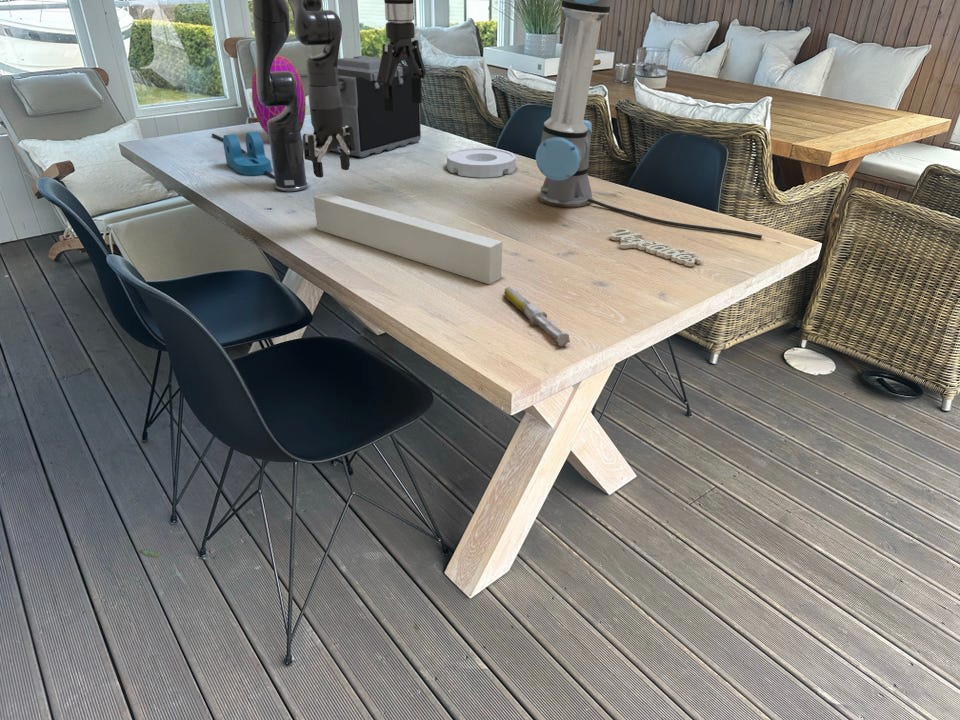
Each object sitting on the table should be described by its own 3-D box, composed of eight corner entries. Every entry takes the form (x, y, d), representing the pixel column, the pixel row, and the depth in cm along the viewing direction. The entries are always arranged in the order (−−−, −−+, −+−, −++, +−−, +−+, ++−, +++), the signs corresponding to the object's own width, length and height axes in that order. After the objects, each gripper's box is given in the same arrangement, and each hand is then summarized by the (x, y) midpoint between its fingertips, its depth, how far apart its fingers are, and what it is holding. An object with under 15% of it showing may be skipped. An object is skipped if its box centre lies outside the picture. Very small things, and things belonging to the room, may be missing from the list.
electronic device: (383, 133, 276) (378, 52, 261) (425, 141, 265) (422, 56, 250) (314, 150, 251) (304, 61, 235) (358, 160, 240) (350, 67, 224)
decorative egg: (293, 132, 276) (283, 50, 261) (319, 140, 264) (310, 56, 249) (249, 139, 265) (236, 54, 250) (273, 148, 253) (261, 60, 238)
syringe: (499, 294, 146) (500, 282, 144) (516, 291, 147) (516, 279, 146) (552, 349, 126) (553, 336, 125) (570, 345, 127) (571, 332, 126)
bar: (501, 278, 154) (502, 241, 149) (489, 284, 151) (490, 247, 146) (330, 225, 183) (326, 193, 178) (317, 229, 180) (313, 197, 175)
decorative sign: (596, 235, 174) (621, 227, 180) (596, 239, 175) (620, 230, 181) (684, 266, 157) (708, 256, 163) (684, 270, 158) (708, 260, 164)
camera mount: (227, 164, 233) (221, 132, 227) (257, 160, 238) (252, 129, 233) (244, 176, 220) (239, 143, 215) (276, 172, 225) (271, 139, 220)
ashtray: (449, 158, 243) (449, 147, 241) (514, 159, 242) (515, 148, 240) (444, 176, 223) (444, 164, 221) (515, 178, 222) (516, 165, 220)
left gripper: (337, 98, 169) (343, 165, 177) (291, 107, 159) (300, 176, 167) (358, 102, 165) (363, 169, 173) (313, 111, 155) (320, 182, 164)
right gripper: (413, 17, 190) (416, 98, 201) (359, 24, 171) (365, 113, 182) (436, 19, 187) (438, 100, 198) (384, 25, 168) (389, 115, 179)
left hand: (332, 173), depth 170 cm, fingers open, 8 cm apart
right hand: (403, 106), depth 190 cm, fingers open, 13 cm apart
